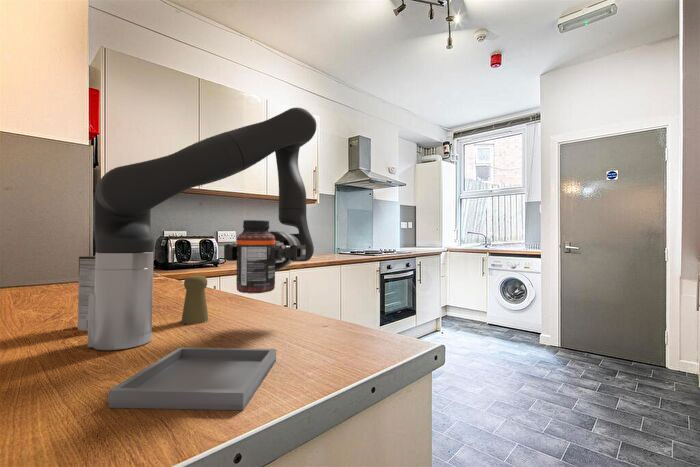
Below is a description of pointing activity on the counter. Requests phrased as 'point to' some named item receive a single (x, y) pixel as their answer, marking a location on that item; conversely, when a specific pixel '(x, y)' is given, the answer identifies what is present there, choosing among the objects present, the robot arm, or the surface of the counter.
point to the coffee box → (85, 289)
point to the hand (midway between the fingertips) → (251, 253)
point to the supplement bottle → (255, 258)
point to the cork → (195, 300)
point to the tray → (196, 380)
